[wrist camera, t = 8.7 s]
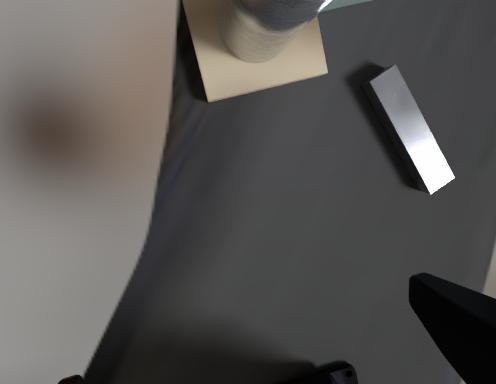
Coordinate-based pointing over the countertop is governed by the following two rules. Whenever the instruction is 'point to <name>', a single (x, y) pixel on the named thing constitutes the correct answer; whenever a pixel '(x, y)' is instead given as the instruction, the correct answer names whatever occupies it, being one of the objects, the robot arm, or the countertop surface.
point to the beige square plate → (243, 73)
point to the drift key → (407, 129)
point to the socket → (341, 3)
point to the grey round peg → (264, 25)
